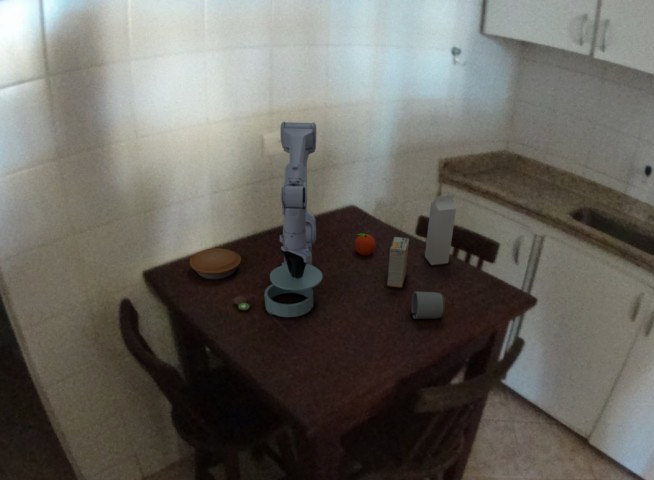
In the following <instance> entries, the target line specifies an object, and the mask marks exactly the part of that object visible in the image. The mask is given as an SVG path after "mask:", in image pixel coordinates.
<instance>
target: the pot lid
mask: <svg viewBox="0 0 654 480" xmlns="http://www.w3.org/2000/svg"><path fill="white" fill-rule="evenodd" d="M269 280H270V282H271V283H272V284H274V285H275V286H277V287H279V288H282V289H285V290H293V291H299V290H306V289H310V288H312V289H313V288H315V287H317V286H318V285H320V283H321V282H322V280H323V272H322V271H321V270H320V269H319V268H318V267H316V266H314V265H312V266H311V265H308V264H306V266H305V269H304V273H303V277H300V278H295V276H294V270H293V265H292V264H291V273H290V272H289V269H288V266H287V264H285V265H282V264H281V265H279V266H276V267H275V268H274V269H273V270H271V272H270V274H269Z"/></svg>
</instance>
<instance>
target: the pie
mask: <svg viewBox="0 0 654 480" xmlns="http://www.w3.org/2000/svg"><path fill="white" fill-rule="evenodd" d="M241 261H242V258H241V255H240V254H239V253H238V252H235V251H233V250H230V249H227V248H220V247H213V248H206V249H204V250H201V251H199V252H197V253H195V254H193V255H192V256H191V257H190V258H189V261H188V263H189V265H190V267H191V269H193V270H194V271H195V272H196V273H197V274H198V275H199V276H200V277H202V278H204V279H207V280H221V279H226V278H228V277H231V276H232V275H233V274H234V273H235V271H236V270H237V268H238V266H239V265H240V264H241Z"/></svg>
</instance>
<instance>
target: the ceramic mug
mask: <svg viewBox="0 0 654 480" xmlns="http://www.w3.org/2000/svg"><path fill="white" fill-rule="evenodd" d="M445 310H446V299H445V296H444V295H443V293H441V292H435V291H433V292H432V291H414V292H413V294H412V297H411V313H412V318H413V319H414V320H429V319H430V320H432V319H435V320H437V319H440V318H442V317H443V316H444V314H445Z"/></svg>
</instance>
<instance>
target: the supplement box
mask: <svg viewBox="0 0 654 480" xmlns="http://www.w3.org/2000/svg"><path fill="white" fill-rule="evenodd" d="M409 243H410V238H407V237H398V236H394V237H393V239H392V242H391V246H390V247H389V257H388V258H389V260H388V273H387V282H386V286H387V287H391V288H400V289H402V288H403V285H404V281H405V278H406V273H407V264H408V256H409V255H408V254H409Z"/></svg>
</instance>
